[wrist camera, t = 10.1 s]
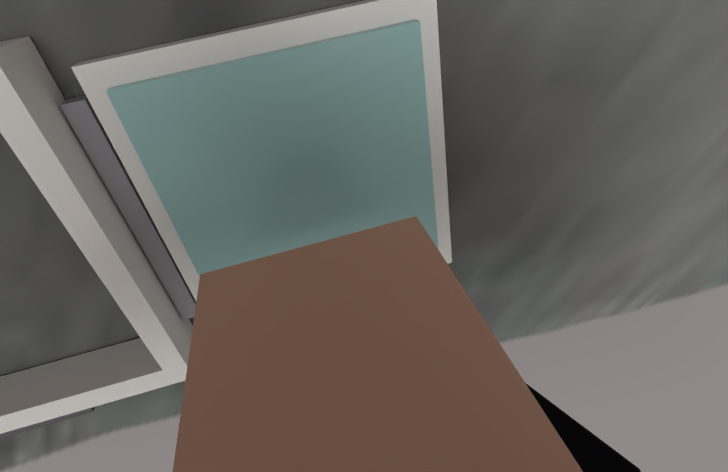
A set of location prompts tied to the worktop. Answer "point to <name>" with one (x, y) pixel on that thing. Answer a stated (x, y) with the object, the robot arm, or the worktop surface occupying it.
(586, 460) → the robot arm
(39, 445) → the worktop surface
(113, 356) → the pale grey square frame
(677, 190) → the worktop surface
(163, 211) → the lid
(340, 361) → the block
